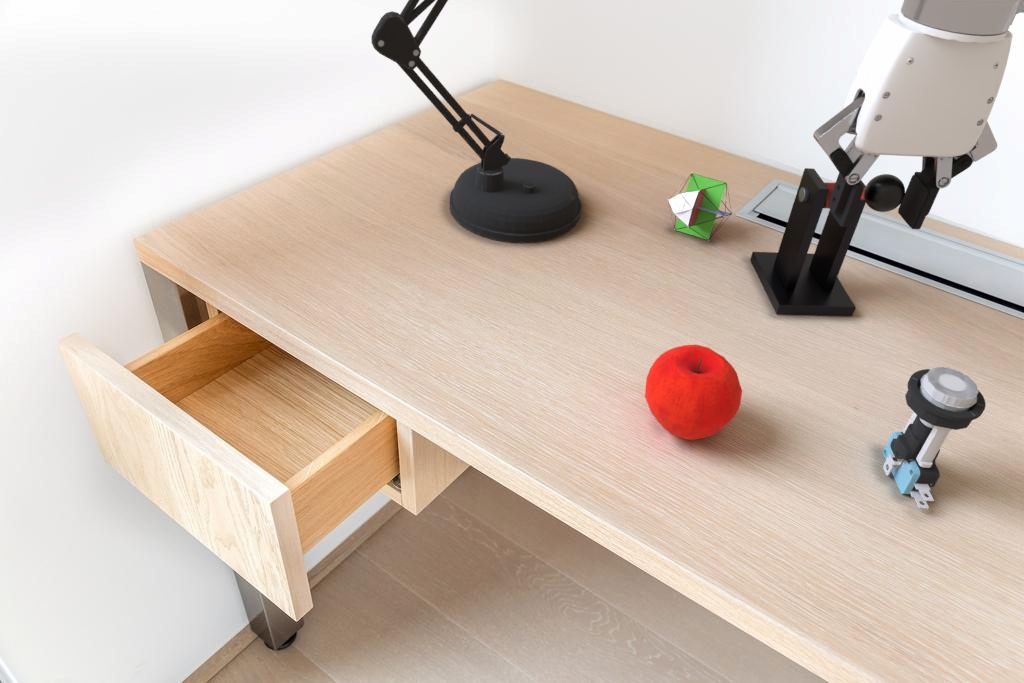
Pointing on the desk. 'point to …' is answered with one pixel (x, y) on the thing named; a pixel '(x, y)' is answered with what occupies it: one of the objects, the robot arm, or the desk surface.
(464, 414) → the desk surface
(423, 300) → the desk surface
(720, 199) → the geometric puzzle
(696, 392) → the apple
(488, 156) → the desk lamp
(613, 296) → the desk surface
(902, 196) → the lever
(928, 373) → the push button
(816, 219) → the bracket
